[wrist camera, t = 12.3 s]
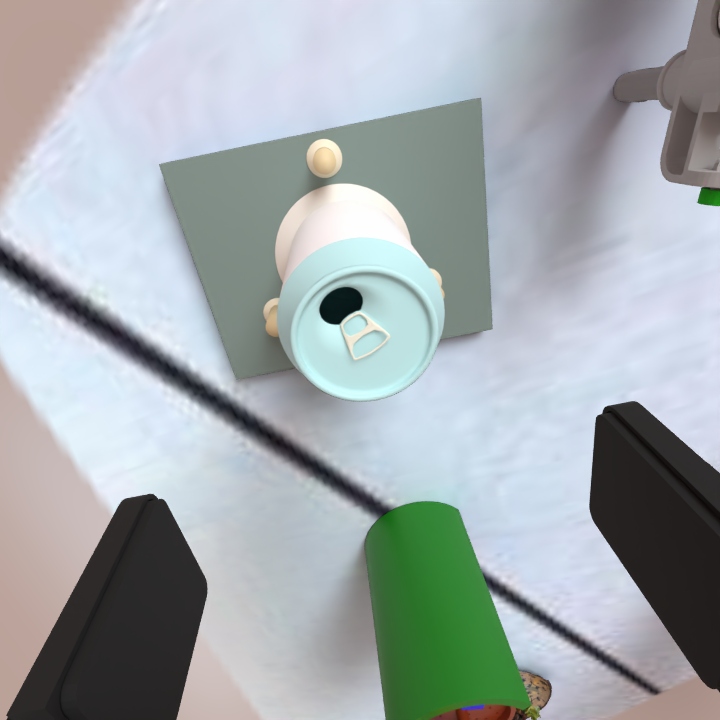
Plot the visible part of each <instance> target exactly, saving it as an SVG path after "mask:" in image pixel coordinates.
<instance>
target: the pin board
mask: <svg viewBox="0 0 720 720" xmlns="http://www.w3.org/2000/svg"><path fill="white" fill-rule="evenodd" d="M159 166H160V169H161V171H162V174H163V177H164V180H165V183H166V185H167V188H168V191H169V194H170V196H171V199H172V202H173V205H174V208H175V210H176V213H177V216H178V219H179V221H180V224H181V227H182V230H183V233H184V235H185V238H186V241H187V244H188V246H189V249H190V252H191V255H192V257H193V260H194V263H195V266H196V269H197V271H198V274H199V277H200V280H201V282H202V285H203V288H204V291H205V294H206V296H207V299H208V302H209V305H210V307H211V310H212V313H213V316H214V319H215V321H216V324H217V327H218V330H219V332H220V335H221V338H222V341H223V343H224V346H225V349H226V352H227V355H228V357H229V360H230V363H231V366H232V368H233V371H234V374H235V377H236V380H237V379H243V378H248V377H253V376H258V375H263V374H268V373H273V372H278V371H283V370H288V369H293V368H296V367H295V366H294V365H293V364H292V362H291V361H290V359H289V358H288V356H287V354H286V353H285V351H284V349H283V346H282V344H281V341H280V338H279V334H278V328H277V308H278V302H279V298H280V293H281V289H282V285H283V280H284V276H285V271H286V267H287V263H288V258H289V254H290V250H291V245H292V242H293V239H294V236H295V234H296V232H297V230H298V228H299V227H300V225H301V224H302V222H303V221H304V220H305V219H306V218H307V217H308V216H309V215H310V214H311V213H312V212H314V211H315V210H317V209H318V208H320V207H322V206H324V205H326V204H328V203H332V202H335V201H340V200H358V201H363V202H366V203H369V204H372V205H374V206H376V207H378V208H380V209H381V210H383V211H384V212H385V213H386V214H388V215H389V216H390V217H391V218H392V219H393V221H394V222H395V223H396V224H397V226H398V227H399V228H400V230H401V231H402V233H403V234H404V235H405V237H406V238H407V239H408V241H409V242H410V243H411V245H412V246H413V247H414V249H415V250H416V251H417V253H418V254H419V255H420V257H421V258H422V259H423V261H424V262H425V263H426V265H427V266H428V267H429V269H430V270H431V272H432V273H433V274H434V276H435V278H436V280H437V282H438V284H439V286H440V289H441V292H442V296H443V301H444V309H445V316H444V326H443V331H442V335H441V338H440V339H445V338H450V337H455V336H460V335H466V334H471V333H476V332H481V331H486V330H491V329H492V309H491V289H490V269H489V249H488V229H487V209H486V189H485V168H484V148H483V128H482V108H481V98H477V99H471V100H466V101H461V102H457V103H452V104H447V105H442V106H437V107H432V108H428V109H423V110H418V111H413V112H408V113H403V114H399V115H394V116H389V117H384V118H379V119H374V120H370V121H365V122H360V123H355V124H350V125H345V126H341V127H336V128H331V129H326V130H321V131H316V132H312V133H307V134H302V135H297V136H292V137H287V138H283V139H278V140H273V141H268V142H263V143H258V144H254V145H249V146H244V147H239V148H234V149H229V150H225V151H220V152H215V153H210V154H205V155H200V156H196V157H191V158H186V159H181V160H176V161H171V162H167V163H163V164H159Z"/></svg>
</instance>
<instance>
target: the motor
mask: <svg viewBox="0 0 720 720" xmlns="http://www.w3.org/2000/svg"><path fill="white" fill-rule="evenodd" d="M365 553H366V561H367V569H368V577H369V586H370V594H371V602H372V610H373V619H374V627H375V635H376V643H377V651H378V660H379V668H380V676H381V684H382V693H383V701H384V709H385V717H386V720H512V719H513V717H514V715H515V712H516V708H519V709H522V710H524V709H526V708H528V707H529V706H531V702H530V699H529V697H528V694H527V691H526V689H525V686H524V683H523V681H522V678H521V675H520V673H519V670H518V667H517V665H516V662H515V659H514V657H513V654H512V651H511V649H510V646H509V643H508V641H507V638H506V635H505V633H504V630H503V627H502V625H501V622H500V619H499V617H498V614H497V611H496V609H495V606H494V603H493V601H492V598H491V595H490V593H489V590H488V587H487V585H486V582H485V579H484V577H483V574H482V571H481V569H480V566H479V563H478V561H477V558H476V555H475V553H474V550H473V547H472V545H471V542H470V539H469V537H468V534H467V531H466V529H465V526H464V523H463V521H462V518H461V515H460V513H459V510H458V509H456V508H454V507H452V506H450V505H447V504H444V503H439V502H416V503H411V504H407V505H403V506H400V507H398V508H396V509H393V510H392V511H390V512H388V513H386V514H385V515H384V516H382V517H381V518H380V519H379V520H378V521H377V522H376V523H375V524H374V525H373V526H372V527H371V529H370V531H369V532H368V535H367V537H366V541H365Z"/></svg>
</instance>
